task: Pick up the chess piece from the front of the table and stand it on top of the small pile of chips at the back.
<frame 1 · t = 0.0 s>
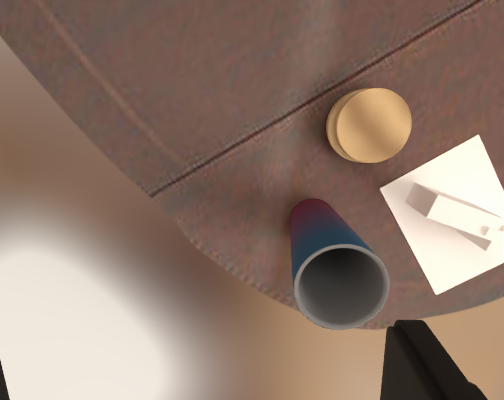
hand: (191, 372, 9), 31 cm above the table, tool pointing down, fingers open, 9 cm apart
napkin holder: (455, 219, 40), on the table
cup: (312, 219, 41), on the table
chip pile: (362, 124, 37), on the table
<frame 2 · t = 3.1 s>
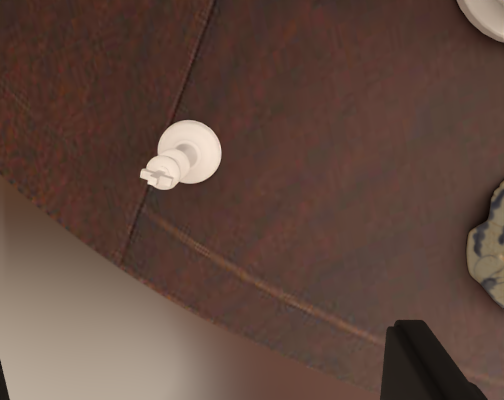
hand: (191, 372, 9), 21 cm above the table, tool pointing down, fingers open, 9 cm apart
chess piece: (190, 151, 29), on the table
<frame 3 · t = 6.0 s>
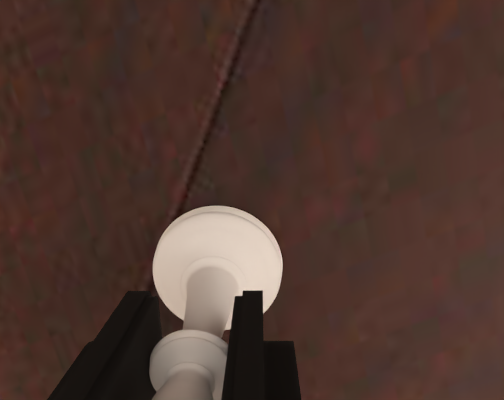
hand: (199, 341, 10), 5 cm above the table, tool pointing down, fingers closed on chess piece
chess piece: (219, 263, 14), on the table, touching gripper
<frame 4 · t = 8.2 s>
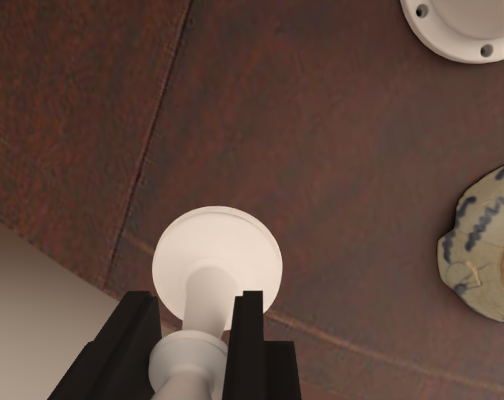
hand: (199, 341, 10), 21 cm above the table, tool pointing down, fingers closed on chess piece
chess piece: (218, 264, 14), point 16 cm above the table, touching gripper
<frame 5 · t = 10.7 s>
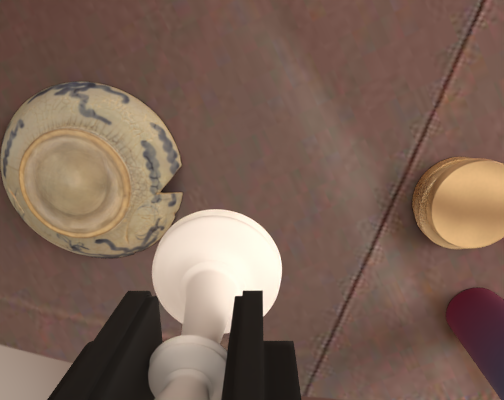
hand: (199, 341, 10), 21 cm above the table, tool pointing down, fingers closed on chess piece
cup: (472, 310, 34), on the table
chess piece: (218, 267, 14), point 17 cm above the table, touching gripper
chip pile: (454, 197, 31), on the table
decorative bowl: (95, 175, 31), on the table
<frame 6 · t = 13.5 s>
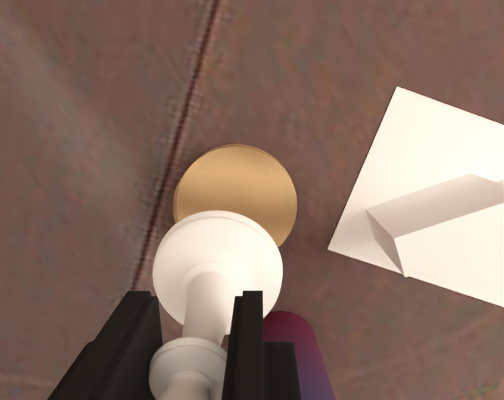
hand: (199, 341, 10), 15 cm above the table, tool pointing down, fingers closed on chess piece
napkin holder: (463, 208, 24), on the table
cup: (280, 339, 27), on the table
chess piece: (219, 268, 14), point 10 cm above the table, touching gripper
chip pile: (235, 197, 24), on the table
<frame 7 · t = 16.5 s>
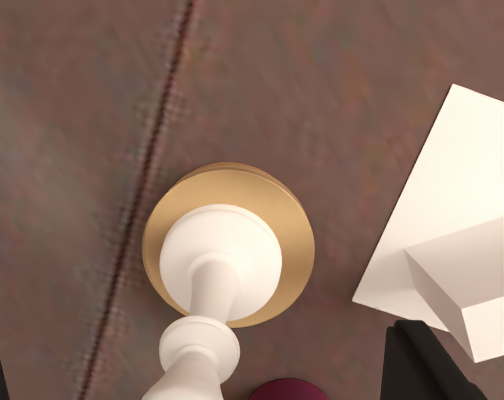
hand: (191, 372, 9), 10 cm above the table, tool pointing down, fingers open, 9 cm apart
chess piece: (222, 259, 15), point 3 cm above the table, touching chip pile
chip pile: (229, 232, 18), on the table, touching chess piece
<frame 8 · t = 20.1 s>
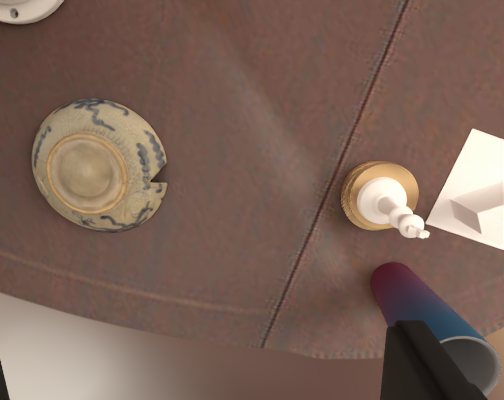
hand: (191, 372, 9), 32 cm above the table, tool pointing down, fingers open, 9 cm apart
cup: (391, 280, 44), on the table
chess piece: (380, 199, 38), point 3 cm above the table, touching chip pile
chip pile: (372, 191, 40), on the table, touching chess piece
decorative bowl: (101, 168, 41), on the table
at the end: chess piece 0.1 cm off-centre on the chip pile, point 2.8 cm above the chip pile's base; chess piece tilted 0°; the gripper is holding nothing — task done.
